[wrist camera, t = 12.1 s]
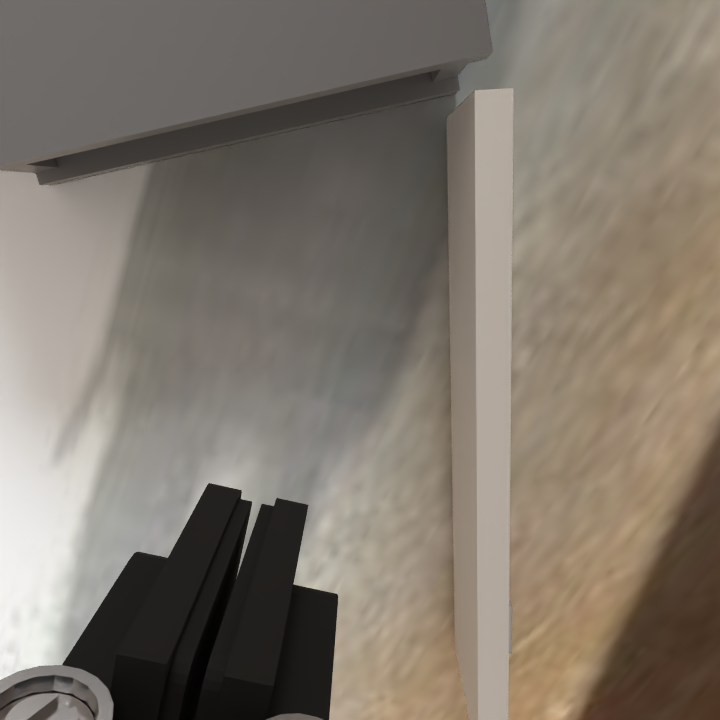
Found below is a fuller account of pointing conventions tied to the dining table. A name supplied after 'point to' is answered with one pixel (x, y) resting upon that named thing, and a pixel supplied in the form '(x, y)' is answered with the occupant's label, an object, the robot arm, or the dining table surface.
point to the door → (481, 391)
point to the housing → (211, 73)
